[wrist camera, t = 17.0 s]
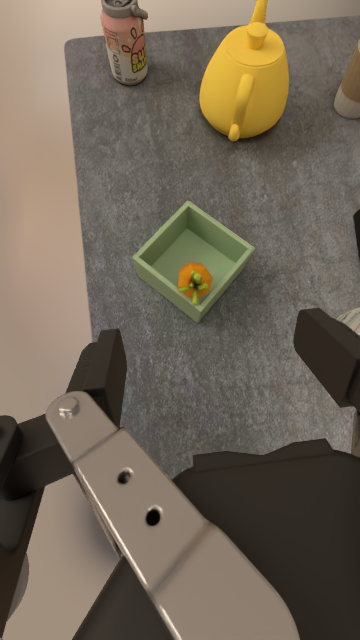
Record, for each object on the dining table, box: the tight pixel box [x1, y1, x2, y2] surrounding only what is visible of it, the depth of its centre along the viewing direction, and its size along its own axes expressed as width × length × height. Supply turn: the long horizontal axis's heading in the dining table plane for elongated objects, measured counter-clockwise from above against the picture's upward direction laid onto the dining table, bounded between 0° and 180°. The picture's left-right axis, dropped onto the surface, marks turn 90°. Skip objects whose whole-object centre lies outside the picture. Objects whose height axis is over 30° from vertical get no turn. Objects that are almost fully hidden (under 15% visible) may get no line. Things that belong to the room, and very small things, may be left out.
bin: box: [132, 201, 255, 323], centre depth 44 cm, size 14×14×7 cm
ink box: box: [336, 307, 360, 336], centre depth 38 cm, size 9×5×12 cm, turn 134°
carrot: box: [178, 262, 212, 306], centre depth 39 cm, size 5×5×15 cm
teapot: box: [199, 0, 289, 141], centre depth 50 cm, size 25×18×14 cm
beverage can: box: [101, 0, 148, 85], centre depth 54 cm, size 9×8×12 cm
